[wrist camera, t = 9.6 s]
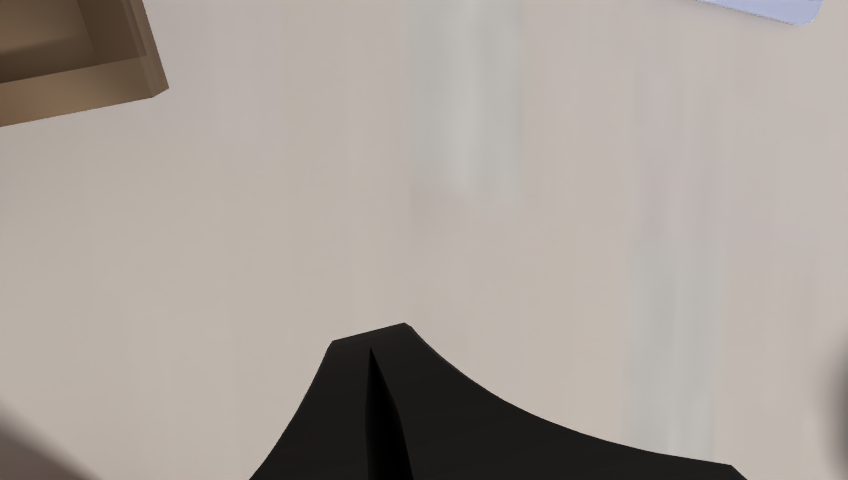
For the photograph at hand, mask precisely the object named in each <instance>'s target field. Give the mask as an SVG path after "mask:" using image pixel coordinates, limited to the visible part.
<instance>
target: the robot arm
mask: <svg viewBox="0 0 848 480" xmlns="http://www.w3.org/2000/svg"><path fill="white" fill-rule="evenodd" d="M697 1H700V2H704V3H708V4H712V5H716V6H720V7H724V8H728V9H732V10H736V11H740V12H744V13H748V14H752V15H756V16H760V17H764V18H768V19H771V20H775V21H779V22H783V23H787V24H791V25H806V24H809V23H811V22H812V21H813V20H814V19H815V18H816V16H817V14H818V12H819V10H820V7H821V5H822V2H823V0H697ZM249 480H747V479H746V478H745V477H743V476H742V475H741V474H740V473H739V472H738V471H737V470H736V469H735V468H734V467H733V466H731V465H727V464H721V463H715V462H709V461H703V460H697V459H690V458H684V457H678V456H672V455H666V454H660V453H654V452H650V451H645V450H641V449H637V448H633V447H629V446H625V445H621V444H617V443H613V442H609V441H606V440H602V439H599V438H596V437H592V436H589V435H586V434H582V433H579V432H577V431H574V430H571V429H569V428H566V427H563V426H560V425H558V424H555V423H552V422H550V421H547V420H545V419H542V418H540V417H538V416H535V415H533V414H531V413H528V412H526V411H524V410H522V409H520V408H518V407H516V406H514V405H512V404H510V403H508V402H506V401H504V400H503V399H501V398H499V397H498V396H496V395H494V394H493V393H491V392H489V391H488V390H486V389H485V388H483V387H482V386H480V385H479V384H477V383H476V382H474V381H473V380H471V379H470V378H469V377H467V376H466V375H464V374H463V373H462V372H460V371H459V370H458V369H457V368H455V367H454V366H453V365H451V364H450V363H449V362H448V361H446V360H445V359H444V358H443V357H441V356H440V355H439V354H438V353H437V352H436V351H435V350H433V349H432V348H431V347H430V346H429V345H428V344H427V343H426V342H425V341H424V340H423V339H422V338H421V337H420V336H419V335H418V334H417V333H416V332H415V330H414V329H413V328H412V327H411V326H409V325H408V324H406V323H401V324H397V325H393V326H389V327H385V328H381V329H377V330H373V331H369V332H365V333H361V334H357V335H354V336H350V337H346V338H342V339H338V340H334V341H332V343H331V344H330V346H329V347H328V349H327V351H326V353H325V356H324V358H323V360H322V363H321V365H320V367H319V369H318V371H317V373H316V375H315V377H314V379H313V382H312V384H311V386H310V387H309V389H308V391H307V393H306V395H305V397H304V399H303V400H302V402H301V404H300V406H299V408H298V410H297V411H296V413H295V415H294V416H293V418H292V420H291V421H290V423H289V424H288V426H287V428H286V429H285V431H284V432H283V434H282V435H281V437H280V439H279V440H278V442H277V443H276V445H275V446H274V448H273V449H272V451H271V452H270V454H269V455H268V456H267V458H266V459H265V461H264V462H263V463H262V465H261V466H260V467H259V468H258V469H257V471H256V472H255V473H254V474H253V476H252V477H251V478H250V479H249Z"/></svg>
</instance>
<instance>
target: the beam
mask: <svg viewBox="0 0 848 480" xmlns="http://www.w3.org/2000/svg"><path fill="white" fill-rule="evenodd" d="M167 89H169V86H168V83H167V80H166V76H165V73H164V70H163V67H162V63H161V60H160V57H159V54H158V50H157V47H156V44H155V41H154V37H153V34H152V31H151V28H150V24H149V21H148V18H147V15H146V11H145V8H144V5H143V2H142V0H0V127H3V126H8V125H13V124H18V123H23V122H28V121H34V120H39V119H44V118H49V117H54V116H59V115H65V114H70V113H75V112H80V111H85V110H90V109H95V108H101V107H106V106H111V105H116V104H121V103H126V102H132V101H137V100H142V99H147V98H152V97H154V96H156V95H158V94H160V93H161V92H163V91H165V90H167Z"/></svg>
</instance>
